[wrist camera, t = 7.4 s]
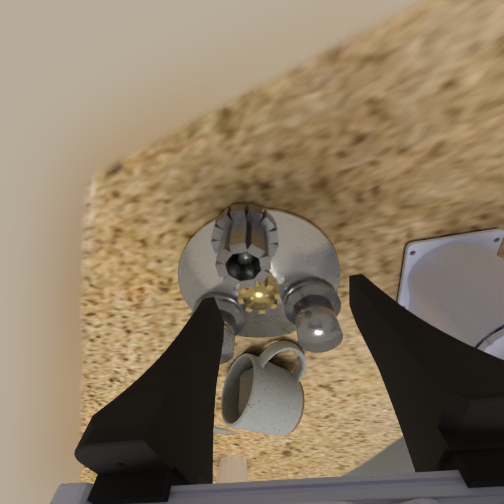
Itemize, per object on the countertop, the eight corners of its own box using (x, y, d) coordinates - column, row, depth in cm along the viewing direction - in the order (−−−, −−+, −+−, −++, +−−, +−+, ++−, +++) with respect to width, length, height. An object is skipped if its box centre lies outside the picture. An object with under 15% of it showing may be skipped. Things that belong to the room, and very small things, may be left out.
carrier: (339, 323, 28) (356, 369, 24) (206, 340, 30) (197, 386, 25) (336, 191, 20) (362, 220, 15) (153, 225, 22) (125, 261, 17)
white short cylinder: (232, 451, 48) (229, 501, 42) (256, 461, 51) (257, 509, 45) (210, 460, 51) (204, 508, 45) (234, 469, 53) (231, 515, 47)
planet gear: (281, 254, 22) (287, 290, 18) (223, 263, 23) (216, 301, 19) (271, 197, 20) (276, 225, 15) (206, 210, 20) (193, 240, 16)
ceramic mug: (271, 389, 36) (276, 453, 29) (222, 371, 34) (216, 436, 27) (319, 350, 31) (337, 415, 25) (266, 326, 29) (270, 392, 22)
